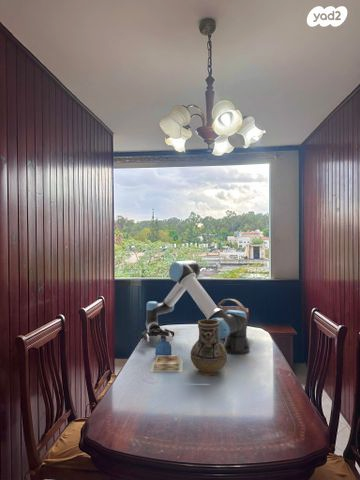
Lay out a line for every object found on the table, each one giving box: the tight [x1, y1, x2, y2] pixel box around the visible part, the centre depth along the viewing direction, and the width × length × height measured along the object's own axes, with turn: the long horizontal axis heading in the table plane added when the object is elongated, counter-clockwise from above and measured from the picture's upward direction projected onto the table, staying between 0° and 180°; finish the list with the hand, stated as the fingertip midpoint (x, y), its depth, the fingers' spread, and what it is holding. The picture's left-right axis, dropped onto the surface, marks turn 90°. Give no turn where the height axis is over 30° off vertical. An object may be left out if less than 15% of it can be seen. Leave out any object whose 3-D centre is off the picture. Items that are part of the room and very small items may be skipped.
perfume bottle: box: [155, 335, 172, 356], centre depth 193 cm, size 6×6×12 cm
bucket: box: [217, 298, 250, 342], centre depth 229 cm, size 24×22×25 cm
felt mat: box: [149, 359, 184, 373], centre depth 179 cm, size 16×16×1 cm
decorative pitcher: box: [190, 318, 228, 376], centre depth 171 cm, size 22×18×25 cm
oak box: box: [154, 354, 180, 370], centre depth 179 cm, size 12×12×3 cm
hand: (160, 338), depth 203 cm, fingers open, 13 cm apart
